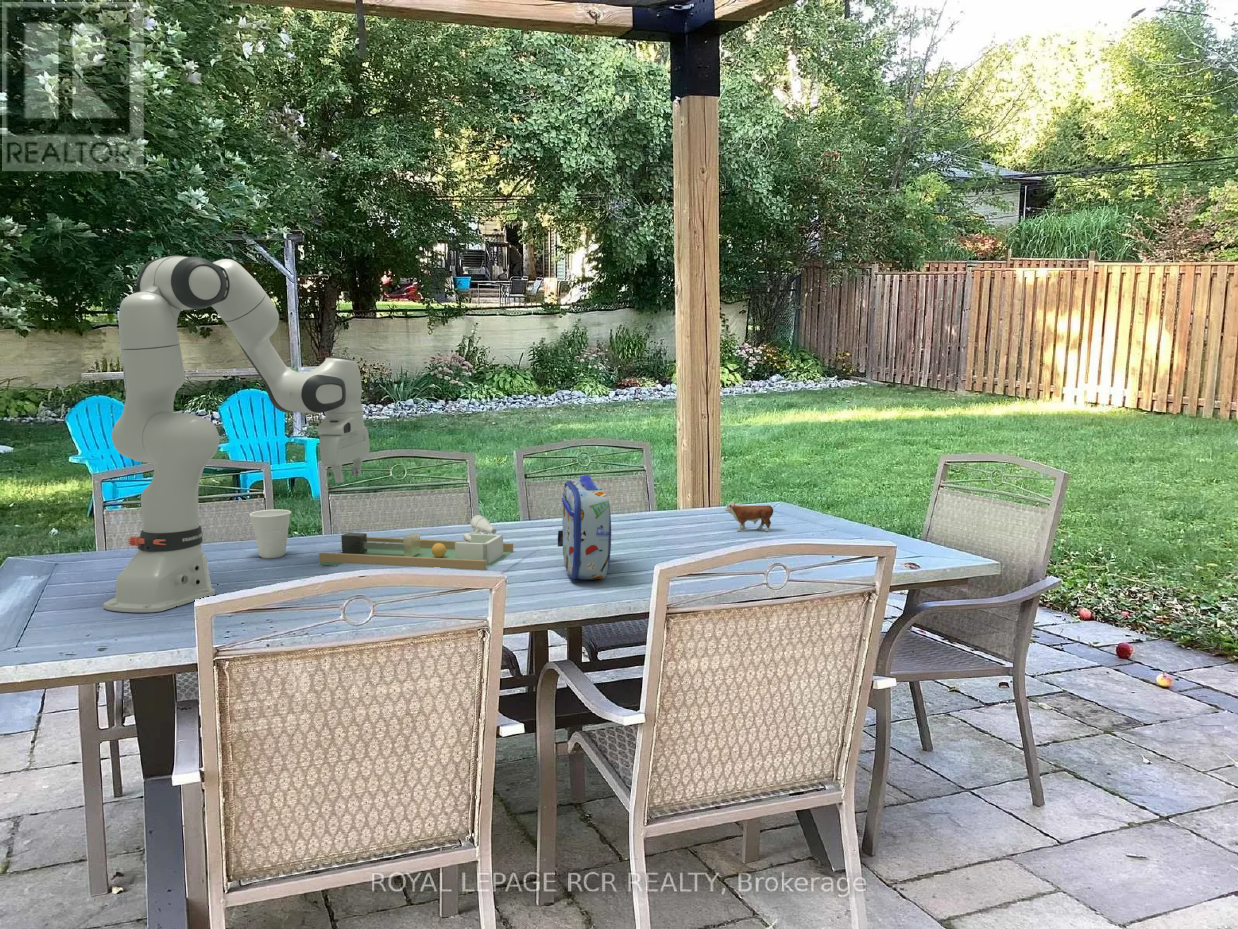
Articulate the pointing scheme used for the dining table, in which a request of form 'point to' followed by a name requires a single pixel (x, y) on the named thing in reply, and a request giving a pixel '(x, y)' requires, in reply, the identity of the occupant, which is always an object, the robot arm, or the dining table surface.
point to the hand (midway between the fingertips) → (348, 478)
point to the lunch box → (585, 529)
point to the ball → (439, 550)
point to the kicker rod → (379, 544)
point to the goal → (480, 548)
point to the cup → (271, 531)
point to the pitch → (417, 561)
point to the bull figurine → (750, 514)
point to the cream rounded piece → (479, 527)
